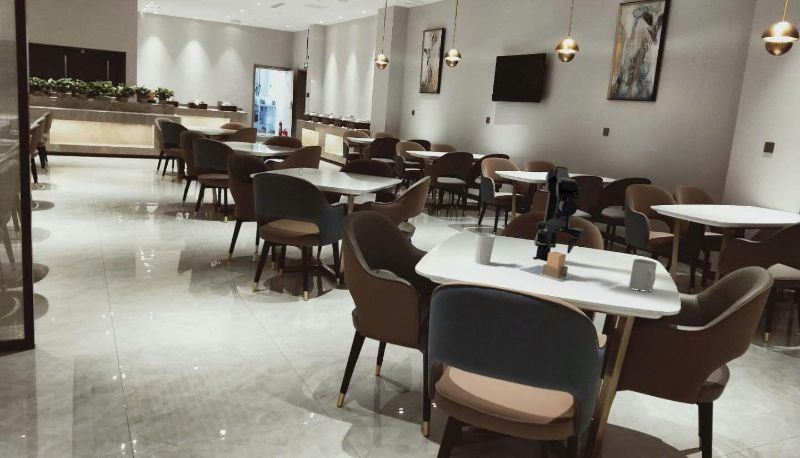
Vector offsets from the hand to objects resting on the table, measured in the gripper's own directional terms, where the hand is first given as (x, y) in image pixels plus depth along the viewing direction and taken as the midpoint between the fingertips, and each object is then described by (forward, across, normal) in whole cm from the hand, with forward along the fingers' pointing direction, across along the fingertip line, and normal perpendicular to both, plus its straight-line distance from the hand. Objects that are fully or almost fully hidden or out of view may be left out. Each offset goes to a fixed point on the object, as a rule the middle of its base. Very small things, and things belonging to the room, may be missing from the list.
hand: (557, 250), depth 240 cm
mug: (+11, +29, +17) cm, 35 cm away
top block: (+6, 0, 0) cm, 6 cm away
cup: (+11, -29, -9) cm, 32 cm away
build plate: (+11, -3, +2) cm, 12 cm away
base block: (+10, 0, 0) cm, 10 cm away
